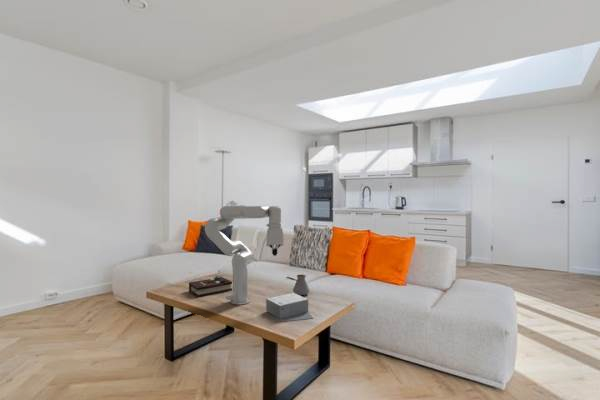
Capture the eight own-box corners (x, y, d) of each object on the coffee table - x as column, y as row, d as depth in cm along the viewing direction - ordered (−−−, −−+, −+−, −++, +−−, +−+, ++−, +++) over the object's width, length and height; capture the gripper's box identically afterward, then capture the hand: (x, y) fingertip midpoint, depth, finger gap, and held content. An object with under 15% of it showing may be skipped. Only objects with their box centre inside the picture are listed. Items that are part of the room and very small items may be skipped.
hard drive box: (279, 319, 170) (308, 311, 181) (279, 305, 170) (308, 298, 181) (265, 311, 183) (293, 304, 194) (265, 298, 183) (293, 292, 194)
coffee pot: (299, 290, 224) (300, 269, 224) (312, 293, 217) (312, 272, 217) (279, 298, 207) (279, 275, 207) (292, 301, 200) (292, 278, 200)
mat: (277, 322, 167) (277, 321, 167) (271, 310, 184) (271, 310, 184) (313, 318, 172) (313, 317, 172) (304, 307, 190) (304, 306, 189)
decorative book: (185, 281, 221) (224, 275, 239) (185, 292, 221) (224, 284, 239) (194, 287, 206) (235, 280, 224) (194, 299, 206) (235, 290, 224)
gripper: (263, 226, 188) (263, 257, 188) (287, 226, 192) (287, 255, 192) (262, 225, 195) (261, 254, 195) (285, 225, 199) (285, 253, 199)
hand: (274, 255), depth 193 cm, fingers closed
